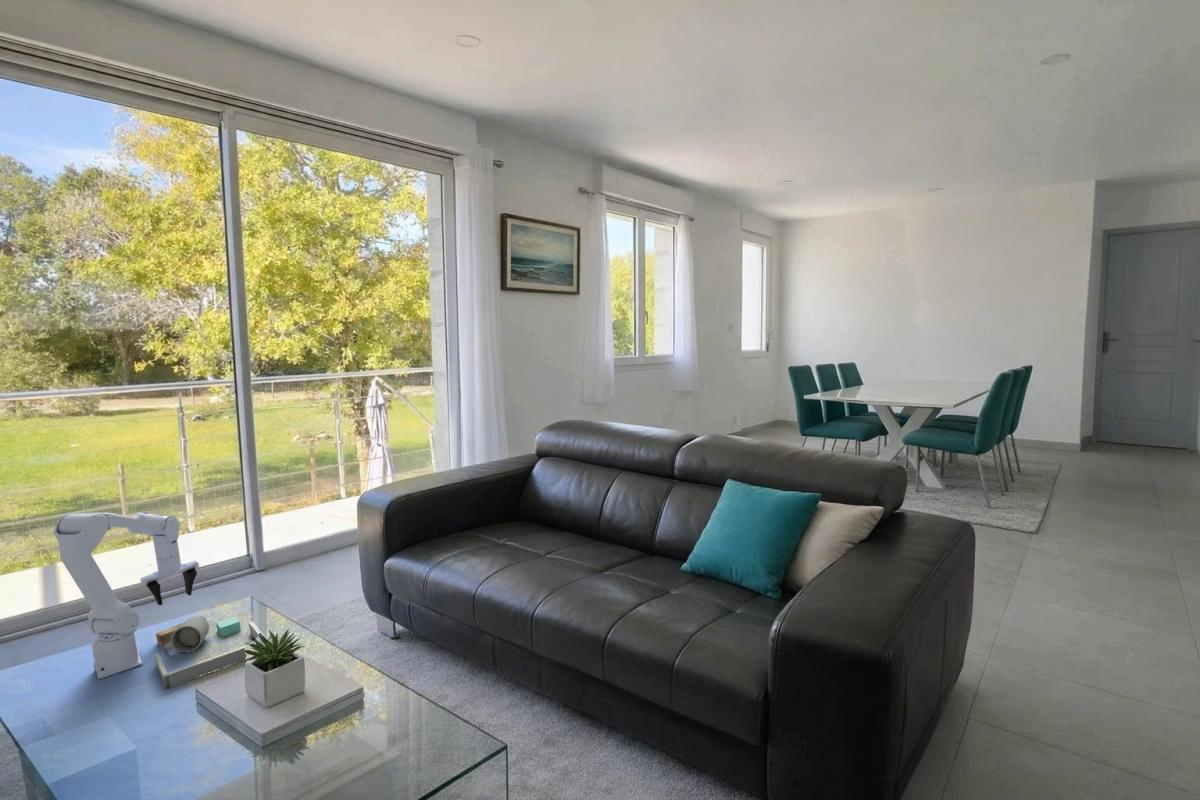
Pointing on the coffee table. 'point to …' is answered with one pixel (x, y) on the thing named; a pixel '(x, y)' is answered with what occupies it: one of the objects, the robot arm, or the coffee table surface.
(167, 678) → the frame
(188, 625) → the ceramic mug
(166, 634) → the brown wooden block
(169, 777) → the coffee table surface
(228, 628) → the turquoise cube box
